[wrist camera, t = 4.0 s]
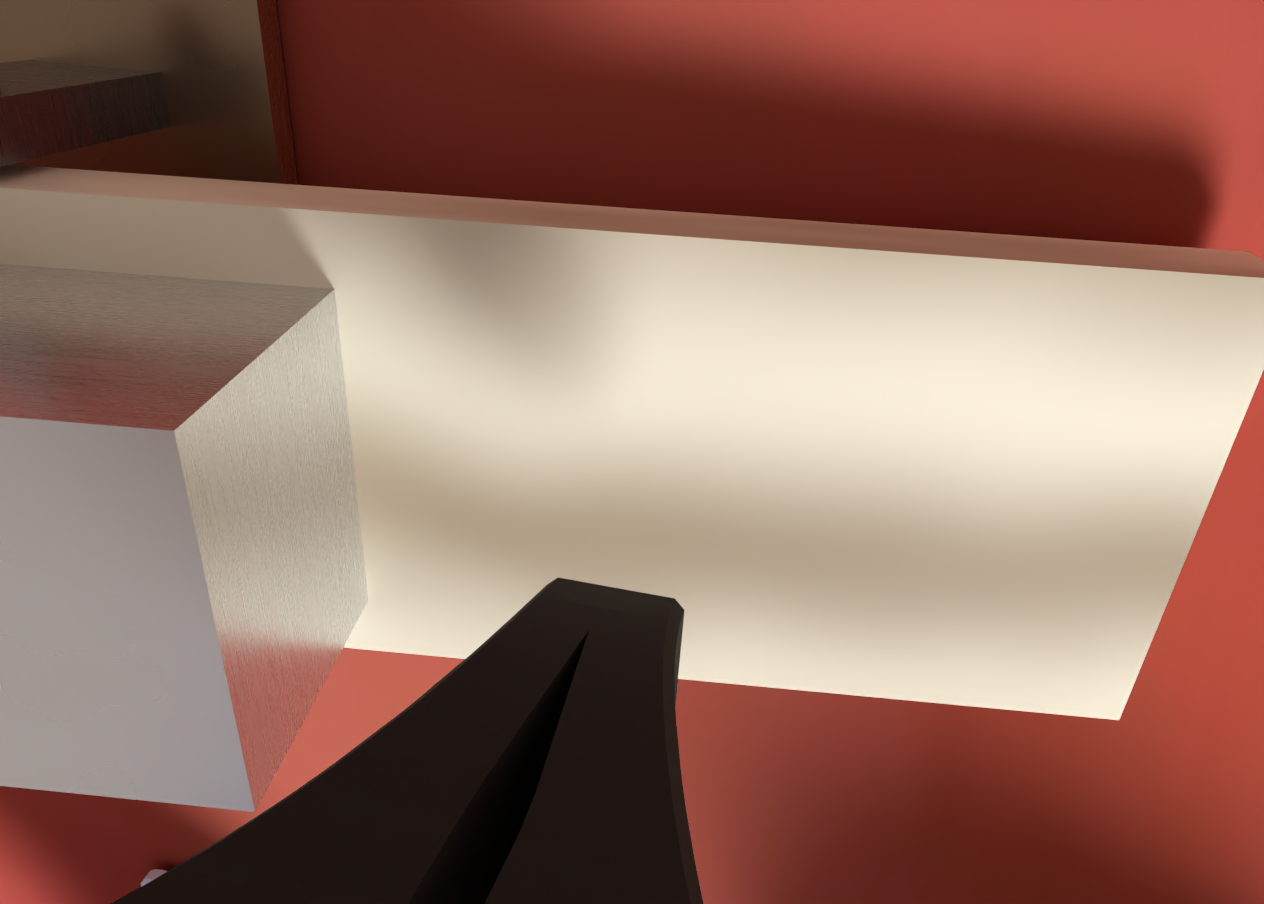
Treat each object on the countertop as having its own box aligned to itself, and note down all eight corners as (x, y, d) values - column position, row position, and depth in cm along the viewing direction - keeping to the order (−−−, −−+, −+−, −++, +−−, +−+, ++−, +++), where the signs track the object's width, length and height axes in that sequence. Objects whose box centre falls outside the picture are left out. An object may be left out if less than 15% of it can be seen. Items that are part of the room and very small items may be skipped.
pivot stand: (351, 615, 19) (238, 758, 16) (99, 566, 20) (-58, 690, 17) (271, -32, 14) (67, -30, 10) (-73, -55, 15) (-365, -59, 11)
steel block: (368, 600, 14) (254, 811, 11) (55, 571, 14) (-156, 770, 11) (334, 289, 12) (173, 430, 8) (-41, 260, 12) (-349, 387, 9)
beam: (1091, 667, 15) (1160, 798, 13) (-682, 505, 17) (-914, 596, 14) (1248, 251, 12) (1379, 325, 10) (-990, 94, 13) (-1356, 124, 11)
